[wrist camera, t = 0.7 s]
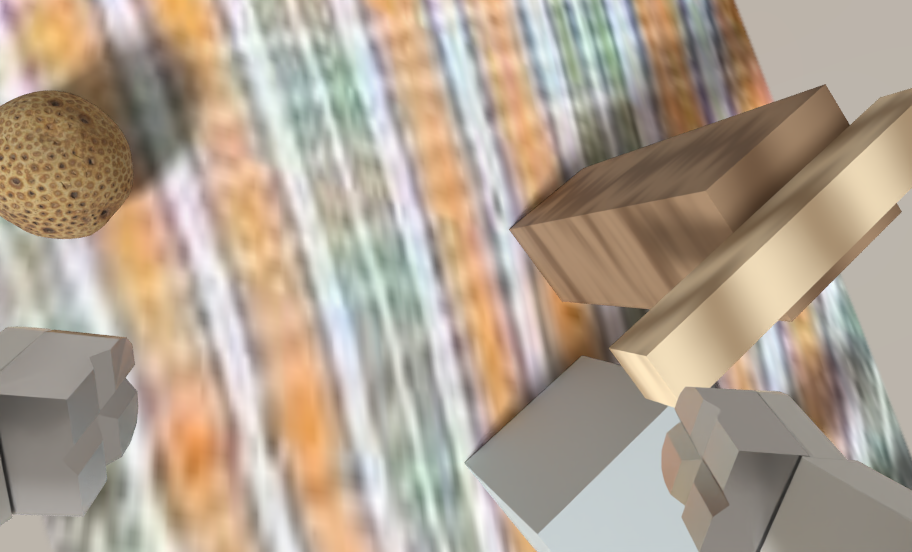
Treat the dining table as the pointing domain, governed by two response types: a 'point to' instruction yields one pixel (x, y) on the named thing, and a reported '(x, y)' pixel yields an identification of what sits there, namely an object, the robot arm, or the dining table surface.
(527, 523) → the grey-blue block
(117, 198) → the natural sponge
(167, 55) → the dining table surface
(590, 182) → the walnut stand
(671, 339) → the beech rod
